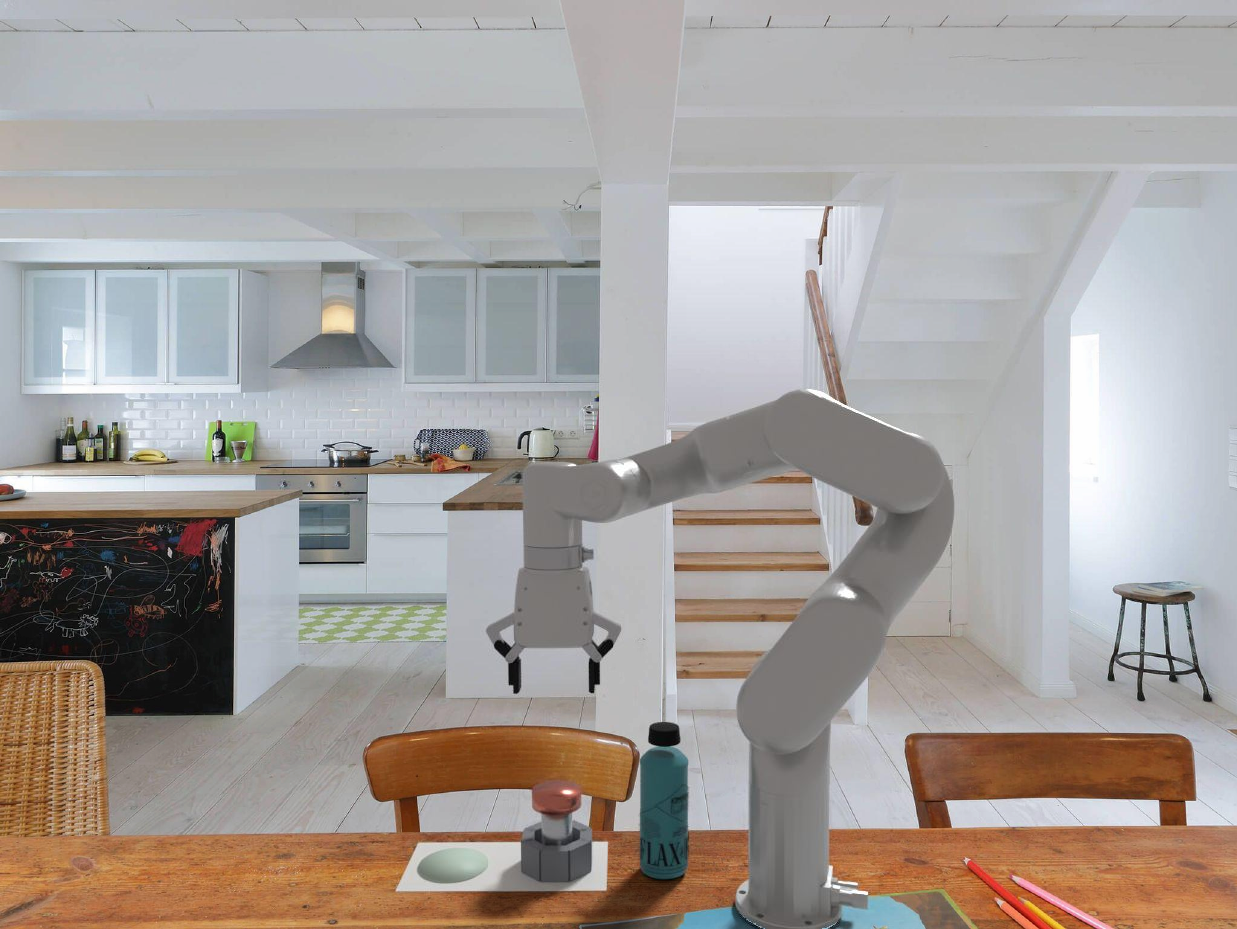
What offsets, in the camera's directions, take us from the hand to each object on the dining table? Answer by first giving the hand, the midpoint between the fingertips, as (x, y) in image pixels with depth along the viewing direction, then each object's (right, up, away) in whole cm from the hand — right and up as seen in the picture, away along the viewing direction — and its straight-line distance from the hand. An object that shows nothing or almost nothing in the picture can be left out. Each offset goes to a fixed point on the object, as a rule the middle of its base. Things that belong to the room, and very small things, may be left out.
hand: (554, 690), depth 118 cm
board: (-6, -24, +1) cm, 25 cm away
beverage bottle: (+14, -24, 0) cm, 28 cm away
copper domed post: (0, -23, +1) cm, 23 cm away
